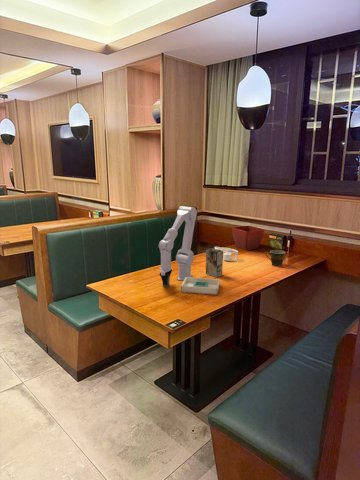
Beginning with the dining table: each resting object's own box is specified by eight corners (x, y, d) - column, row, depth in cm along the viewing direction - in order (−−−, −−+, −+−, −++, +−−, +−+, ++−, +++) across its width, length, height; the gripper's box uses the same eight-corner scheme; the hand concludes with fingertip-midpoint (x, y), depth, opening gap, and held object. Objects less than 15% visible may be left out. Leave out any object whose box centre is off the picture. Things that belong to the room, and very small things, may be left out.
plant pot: (263, 249, 277) (265, 229, 273) (246, 252, 267) (247, 231, 263) (247, 244, 292) (248, 225, 288) (230, 247, 282) (231, 227, 279)
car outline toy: (209, 257, 254) (210, 247, 252) (220, 254, 261) (220, 245, 259) (228, 263, 239) (229, 253, 237) (239, 261, 245) (240, 251, 243)
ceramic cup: (282, 263, 238) (283, 250, 236) (285, 268, 228) (286, 254, 226) (263, 263, 239) (264, 249, 237) (265, 267, 230) (266, 253, 227)
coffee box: (222, 274, 215) (223, 250, 211) (216, 277, 210) (217, 252, 206) (211, 271, 221) (212, 247, 217) (205, 274, 216) (205, 249, 213)
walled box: (185, 282, 201) (185, 276, 200) (219, 285, 197) (219, 279, 197) (180, 291, 187) (180, 285, 186) (217, 294, 183) (217, 288, 182)
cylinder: (163, 284, 198) (163, 273, 196) (170, 285, 197) (170, 273, 195) (161, 287, 194) (161, 275, 192) (168, 287, 193) (168, 275, 192)
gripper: (162, 256, 200) (162, 278, 203) (155, 264, 186) (155, 287, 189) (173, 257, 198) (173, 279, 201) (168, 264, 184) (168, 288, 188)
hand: (166, 283), depth 195 cm, fingers closed on cylinder, 4 cm apart
